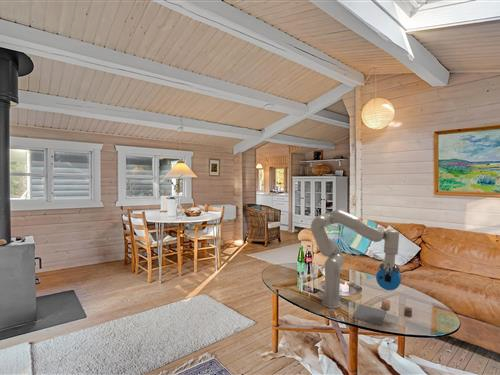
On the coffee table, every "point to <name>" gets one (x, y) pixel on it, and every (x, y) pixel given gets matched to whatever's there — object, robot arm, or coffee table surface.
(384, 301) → the tan egg shape
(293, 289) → the coffee table surface
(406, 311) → the walnut block
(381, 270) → the alarm clock
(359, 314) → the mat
